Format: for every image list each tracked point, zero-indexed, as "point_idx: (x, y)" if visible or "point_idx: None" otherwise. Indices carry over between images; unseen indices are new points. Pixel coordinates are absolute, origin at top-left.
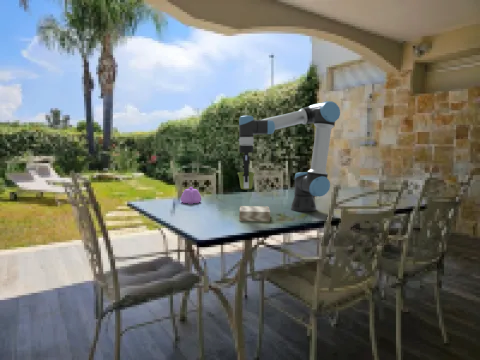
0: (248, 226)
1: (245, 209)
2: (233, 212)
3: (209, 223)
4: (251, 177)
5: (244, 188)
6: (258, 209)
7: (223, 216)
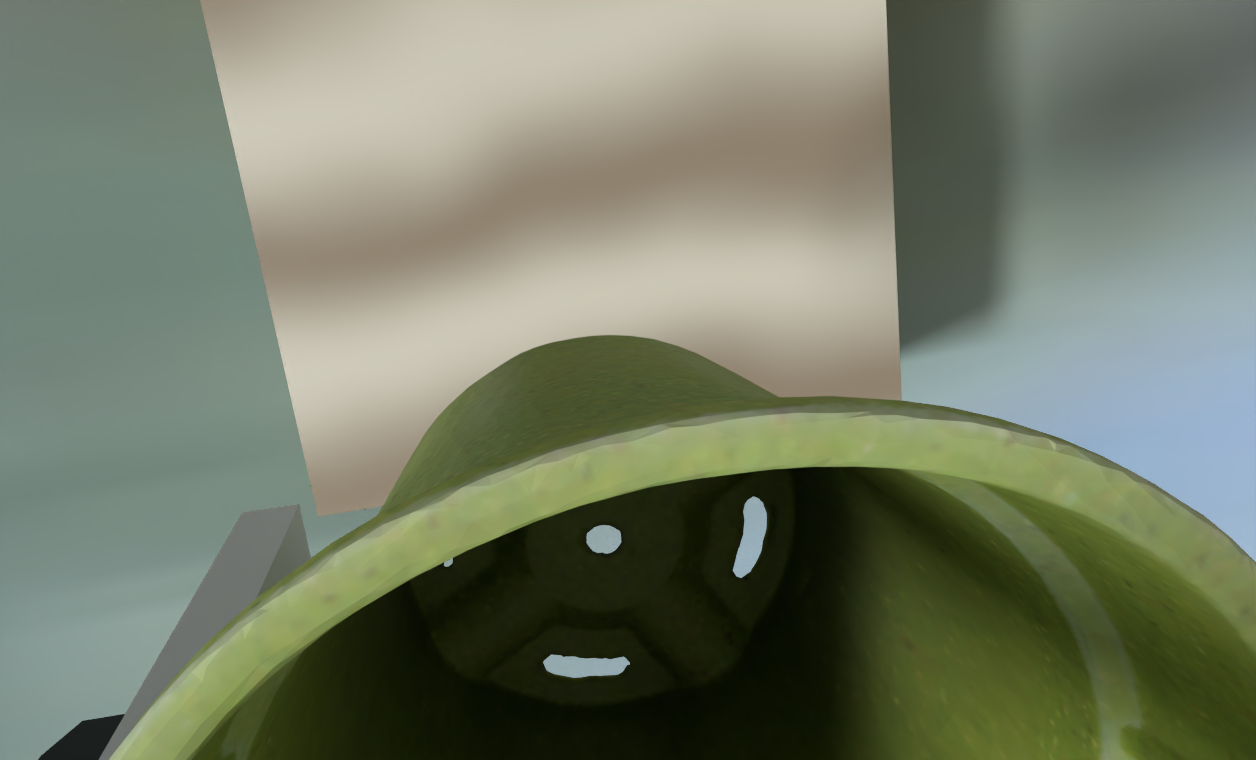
0: (1199, 182)
1: (689, 346)
2: (149, 599)
3: None
4: (977, 499)
5: (800, 567)
6: (635, 72)
7: (550, 671)
